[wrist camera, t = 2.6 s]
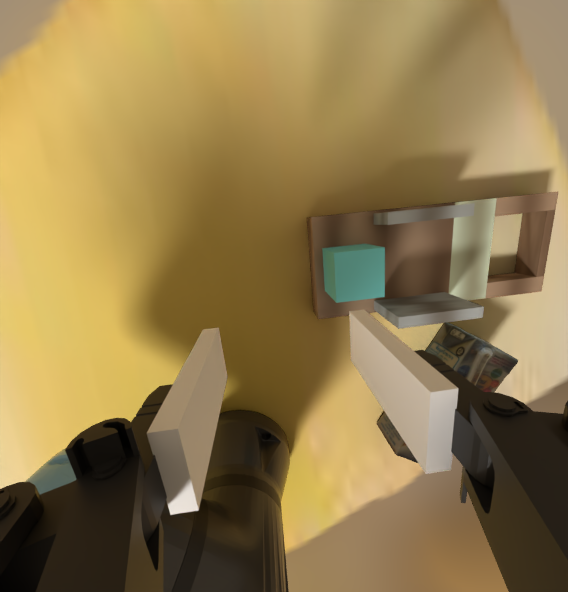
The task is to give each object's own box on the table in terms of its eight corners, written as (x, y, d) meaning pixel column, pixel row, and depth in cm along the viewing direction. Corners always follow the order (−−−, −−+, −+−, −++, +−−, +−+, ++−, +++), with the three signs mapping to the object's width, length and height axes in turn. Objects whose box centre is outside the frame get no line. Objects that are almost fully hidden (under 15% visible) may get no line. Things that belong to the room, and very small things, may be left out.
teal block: (324, 290, 31) (336, 302, 27) (322, 248, 30) (334, 253, 25) (365, 285, 32) (384, 296, 27) (365, 243, 30) (384, 247, 26)
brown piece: (313, 311, 35) (330, 340, 27) (306, 217, 32) (323, 215, 23) (519, 285, 37) (598, 305, 28) (532, 194, 34) (627, 184, 25)
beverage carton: (485, 340, 39) (528, 363, 33) (412, 439, 43) (439, 477, 37) (443, 318, 37) (481, 338, 31) (372, 423, 41) (392, 459, 35)
